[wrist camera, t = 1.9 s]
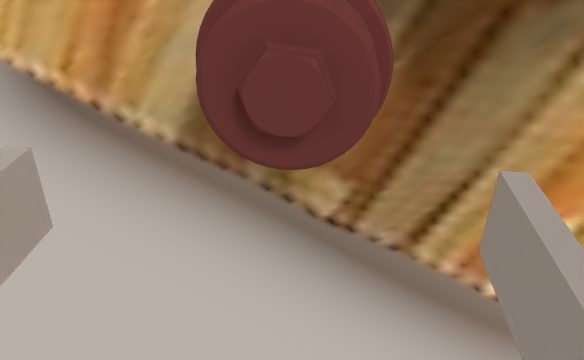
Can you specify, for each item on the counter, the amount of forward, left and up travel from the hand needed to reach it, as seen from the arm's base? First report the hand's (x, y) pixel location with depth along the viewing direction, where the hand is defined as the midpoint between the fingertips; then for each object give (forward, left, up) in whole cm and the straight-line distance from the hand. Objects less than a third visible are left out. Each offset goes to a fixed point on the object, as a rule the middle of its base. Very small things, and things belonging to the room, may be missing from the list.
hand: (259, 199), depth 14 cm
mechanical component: (0, 0, -21) cm, 21 cm away
